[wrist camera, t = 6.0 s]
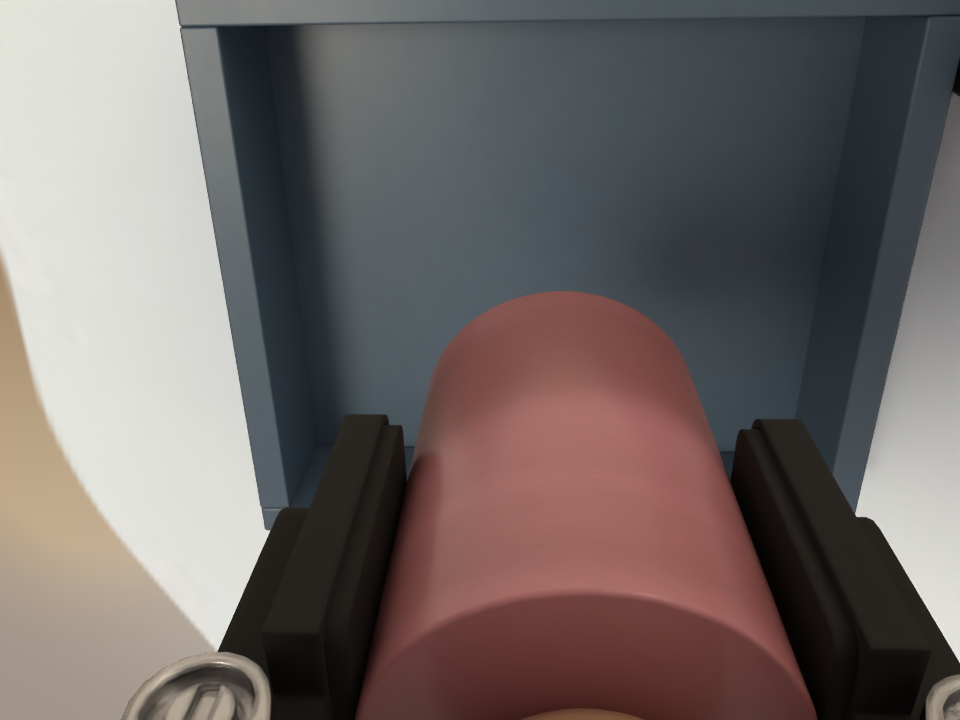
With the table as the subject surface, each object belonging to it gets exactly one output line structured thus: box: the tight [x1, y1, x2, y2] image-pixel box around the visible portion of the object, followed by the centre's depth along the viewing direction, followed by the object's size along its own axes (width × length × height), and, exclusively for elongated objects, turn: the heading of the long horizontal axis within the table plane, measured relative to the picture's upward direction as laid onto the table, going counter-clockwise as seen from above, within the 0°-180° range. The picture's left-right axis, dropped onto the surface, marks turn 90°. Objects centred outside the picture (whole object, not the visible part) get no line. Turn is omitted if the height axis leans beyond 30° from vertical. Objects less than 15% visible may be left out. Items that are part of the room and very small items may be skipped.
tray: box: [175, 0, 960, 530], centre depth 20 cm, size 14×16×4 cm
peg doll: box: [354, 291, 818, 720], centre depth 9 cm, size 4×4×10 cm
